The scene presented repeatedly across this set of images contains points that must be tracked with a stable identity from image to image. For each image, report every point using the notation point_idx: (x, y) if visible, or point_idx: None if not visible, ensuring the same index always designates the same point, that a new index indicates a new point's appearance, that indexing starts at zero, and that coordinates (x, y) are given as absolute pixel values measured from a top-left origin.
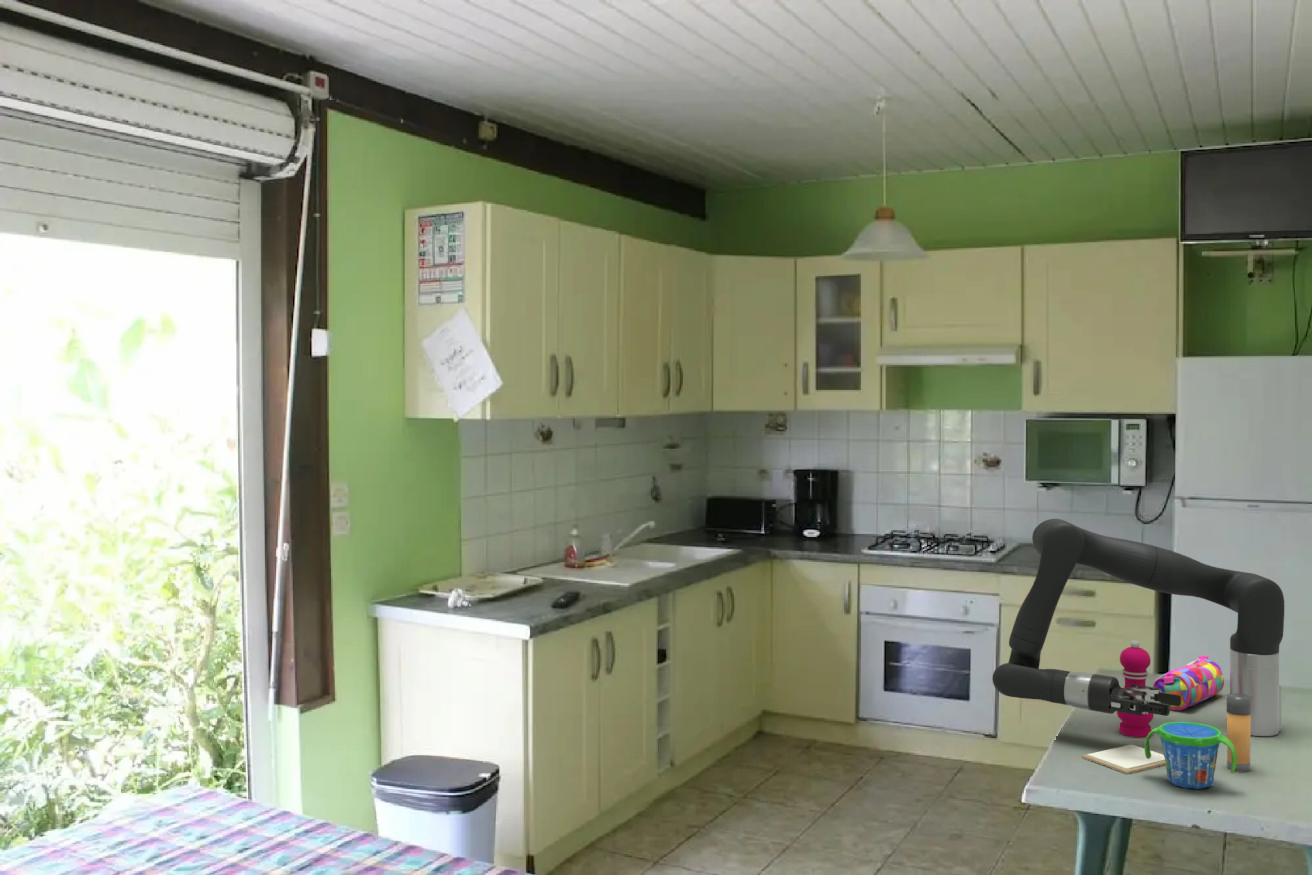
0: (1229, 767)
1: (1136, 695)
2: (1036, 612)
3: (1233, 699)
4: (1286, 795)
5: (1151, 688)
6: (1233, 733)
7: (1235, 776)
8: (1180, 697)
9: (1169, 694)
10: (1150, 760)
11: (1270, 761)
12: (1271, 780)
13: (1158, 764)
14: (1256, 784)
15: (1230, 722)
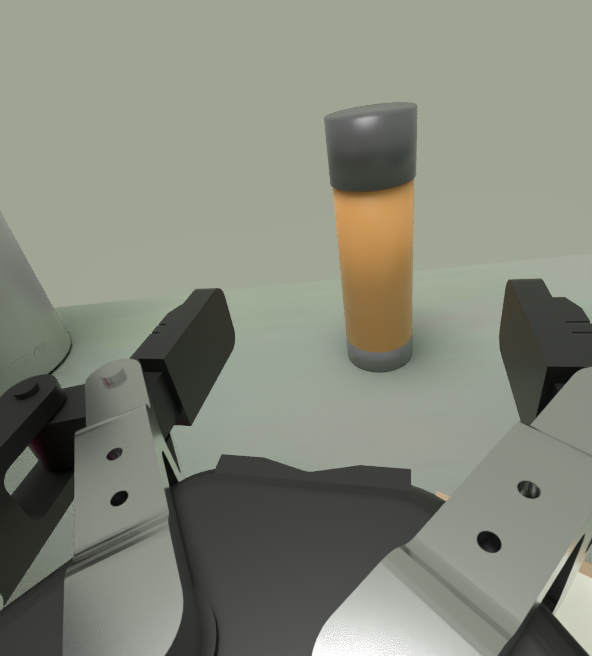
0: (404, 360)
1: (570, 464)
2: None
3: (415, 112)
4: (525, 274)
5: (17, 429)
6: (412, 250)
7: (463, 348)
8: (219, 293)
9: (192, 323)
10: (587, 606)
11: (277, 317)
12: (433, 300)
13: (586, 562)
14: (494, 313)
15: (407, 219)
